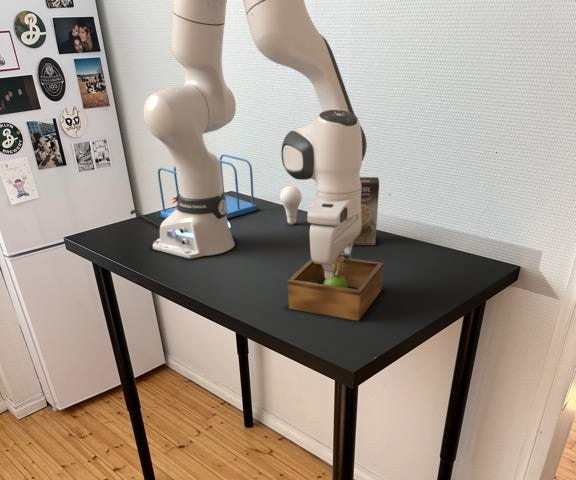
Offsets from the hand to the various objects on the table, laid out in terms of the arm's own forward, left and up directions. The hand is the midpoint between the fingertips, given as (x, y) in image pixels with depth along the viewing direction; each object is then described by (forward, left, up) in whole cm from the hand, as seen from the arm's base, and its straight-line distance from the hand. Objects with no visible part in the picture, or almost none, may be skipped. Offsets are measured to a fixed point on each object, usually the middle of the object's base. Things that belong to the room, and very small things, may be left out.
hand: (338, 269), depth 116 cm
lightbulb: (-30, +43, -7) cm, 53 cm away
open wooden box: (0, 0, -7) cm, 7 cm away
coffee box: (-7, +36, -7) cm, 37 cm away
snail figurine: (0, 0, -7) cm, 7 cm away
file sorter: (-59, +43, -7) cm, 74 cm away
